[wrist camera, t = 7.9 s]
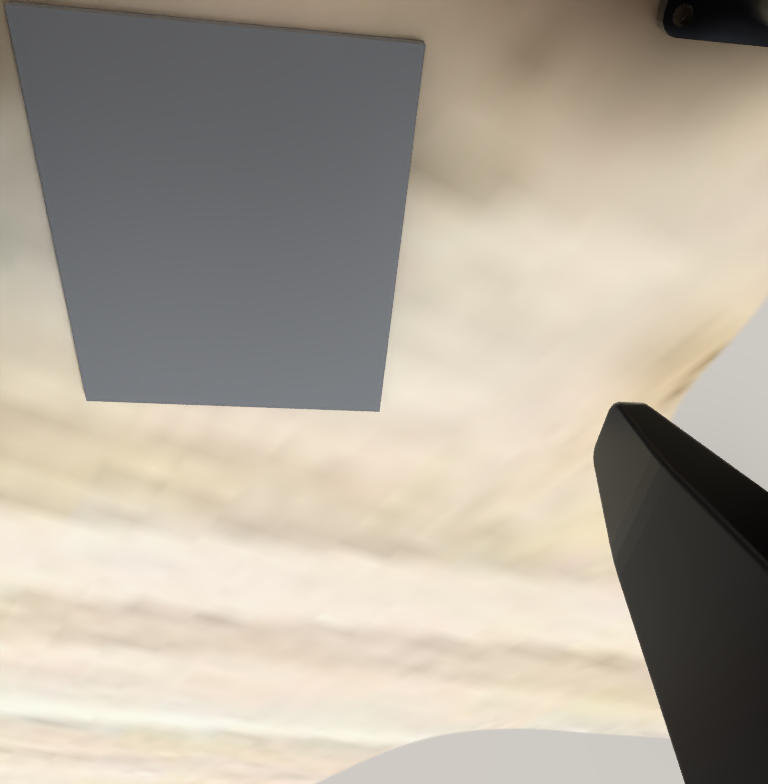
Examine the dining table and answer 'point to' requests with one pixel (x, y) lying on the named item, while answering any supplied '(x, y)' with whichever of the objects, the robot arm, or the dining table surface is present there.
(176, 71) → the mat
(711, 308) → the dining table surface
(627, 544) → the robot arm
